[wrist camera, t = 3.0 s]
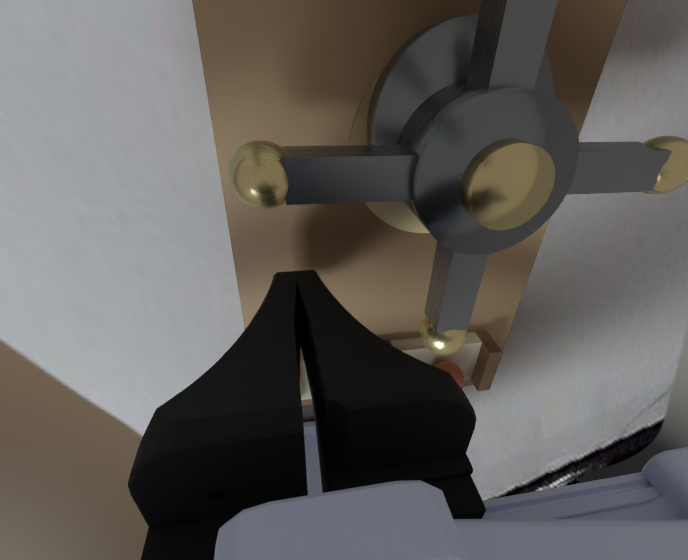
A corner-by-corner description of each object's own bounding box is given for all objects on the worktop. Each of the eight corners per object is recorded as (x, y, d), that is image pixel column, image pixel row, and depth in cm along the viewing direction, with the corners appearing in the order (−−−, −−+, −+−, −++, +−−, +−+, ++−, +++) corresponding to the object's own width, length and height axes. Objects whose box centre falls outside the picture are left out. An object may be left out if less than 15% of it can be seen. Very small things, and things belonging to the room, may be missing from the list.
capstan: (557, 299, 16) (629, 362, 13) (258, 326, 14) (255, 408, 11) (736, -123, 9) (990, -215, 6) (189, -192, 7) (123, -389, 4)
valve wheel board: (477, 361, 20) (514, 418, 17) (258, 386, 18) (256, 454, 15) (589, 4, 12) (702, -11, 9) (198, -17, 10) (165, -46, 7)
